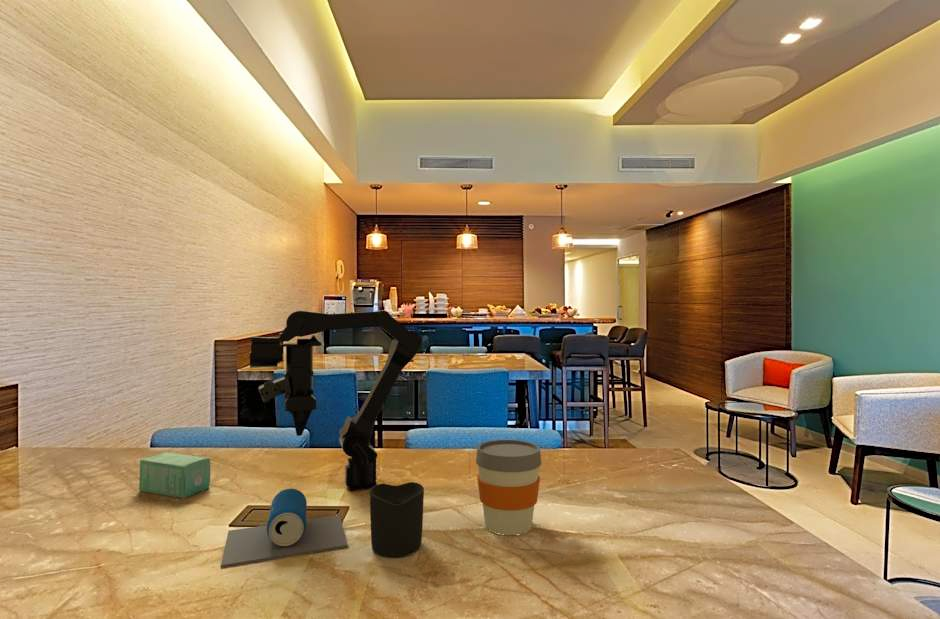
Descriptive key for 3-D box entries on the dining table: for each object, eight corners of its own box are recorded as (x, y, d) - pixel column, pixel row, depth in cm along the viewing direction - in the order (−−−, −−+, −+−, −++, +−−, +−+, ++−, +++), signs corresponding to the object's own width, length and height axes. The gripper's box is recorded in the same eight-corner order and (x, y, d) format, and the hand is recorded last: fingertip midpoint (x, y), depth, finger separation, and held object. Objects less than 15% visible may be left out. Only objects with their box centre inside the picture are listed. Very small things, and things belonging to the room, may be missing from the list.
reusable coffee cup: (496, 546, 88) (497, 460, 88) (464, 519, 99) (464, 443, 99) (554, 531, 94) (554, 451, 94) (518, 508, 105) (518, 436, 105)
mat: (339, 517, 100) (339, 515, 100) (348, 547, 88) (348, 544, 88) (228, 532, 93) (228, 530, 93) (220, 567, 80) (220, 565, 80)
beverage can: (281, 482, 97) (277, 505, 86) (312, 493, 99) (312, 517, 88) (265, 514, 96) (259, 541, 85) (297, 525, 98) (295, 553, 87)
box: (184, 499, 110) (184, 465, 110) (138, 492, 114) (138, 459, 114) (211, 488, 117) (211, 456, 117) (166, 482, 121) (167, 451, 121)
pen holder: (400, 565, 81) (400, 503, 81) (357, 550, 86) (358, 492, 86) (434, 542, 89) (434, 486, 89) (393, 530, 94) (394, 477, 94)
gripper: (262, 363, 119) (261, 429, 119) (259, 372, 102) (258, 449, 102) (311, 361, 123) (311, 425, 123) (316, 370, 106) (316, 444, 106)
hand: (299, 435), depth 113 cm, fingers closed
